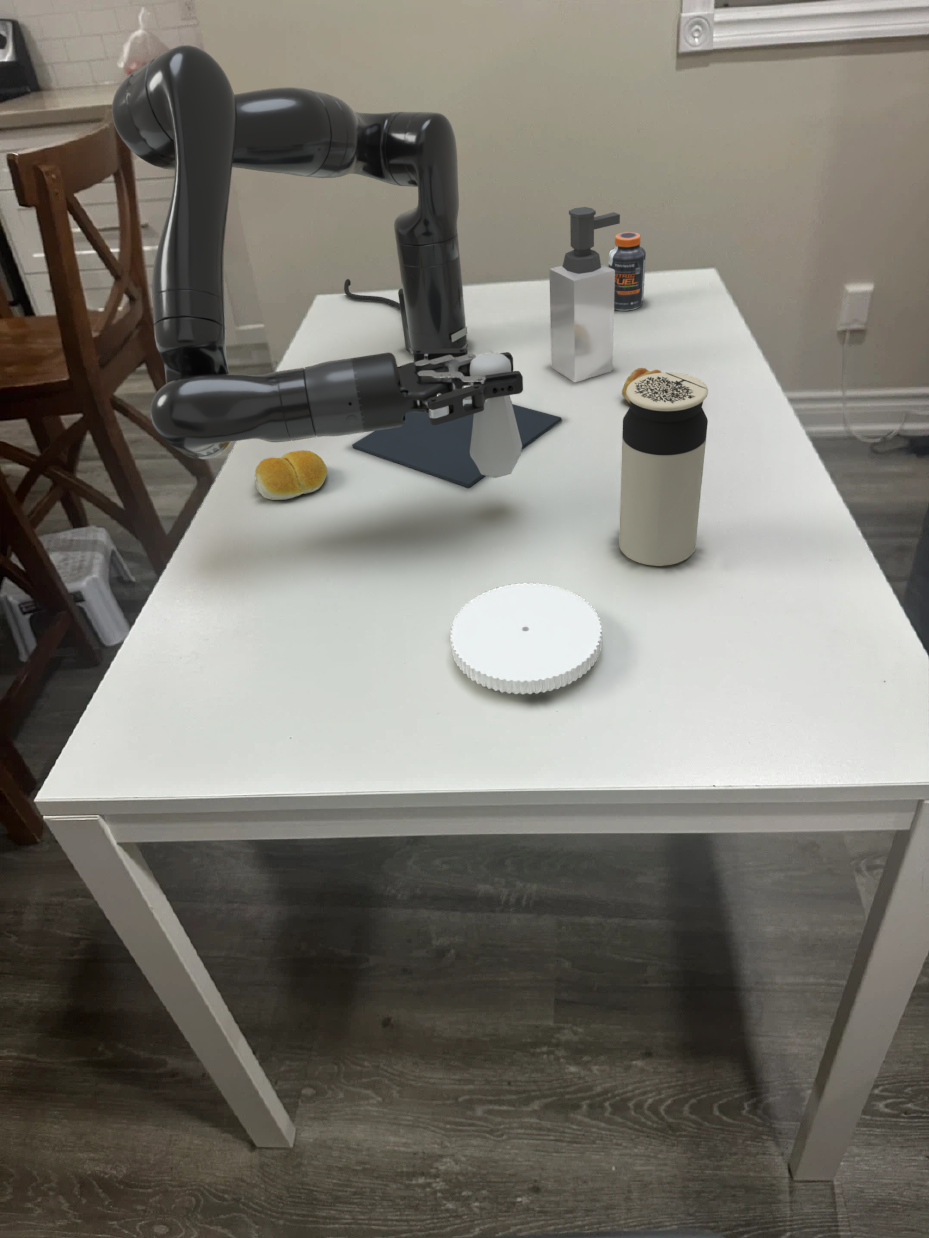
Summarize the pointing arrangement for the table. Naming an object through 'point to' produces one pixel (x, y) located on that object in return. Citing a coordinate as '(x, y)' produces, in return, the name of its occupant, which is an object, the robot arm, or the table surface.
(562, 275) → the soap dispenser
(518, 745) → the table surface
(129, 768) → the table surface
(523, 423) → the mat
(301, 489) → the bread roll
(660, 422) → the travel mug
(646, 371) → the pastry
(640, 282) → the pill bottle
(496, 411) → the salt shaker
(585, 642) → the plastic lid
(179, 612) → the table surface
